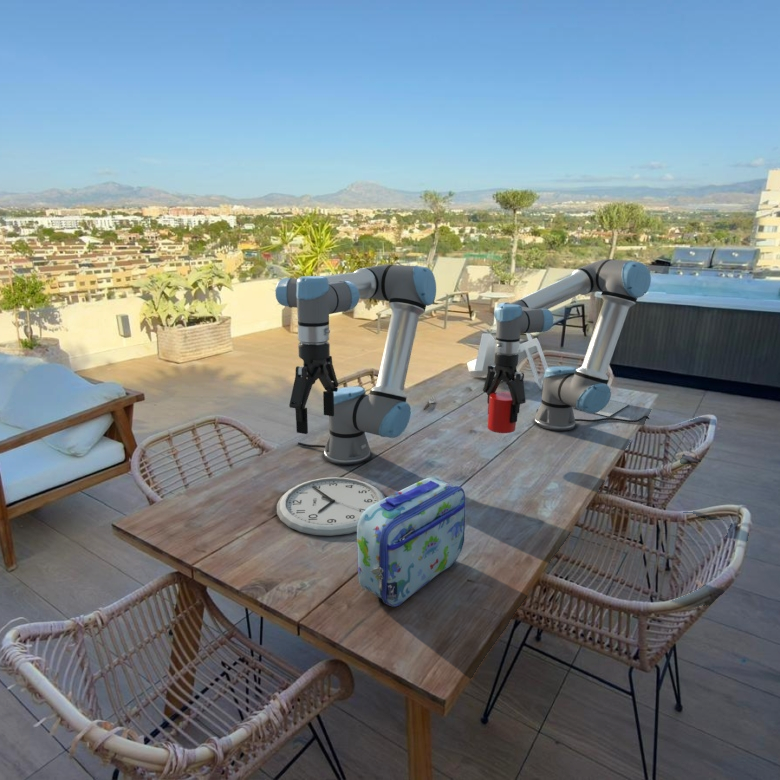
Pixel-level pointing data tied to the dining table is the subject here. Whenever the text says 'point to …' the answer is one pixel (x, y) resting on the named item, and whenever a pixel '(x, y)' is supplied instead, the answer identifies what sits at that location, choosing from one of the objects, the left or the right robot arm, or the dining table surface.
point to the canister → (500, 413)
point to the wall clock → (327, 505)
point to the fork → (430, 402)
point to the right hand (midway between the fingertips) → (502, 417)
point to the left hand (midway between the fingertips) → (316, 423)
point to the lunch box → (410, 539)
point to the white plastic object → (488, 352)
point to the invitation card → (611, 408)
